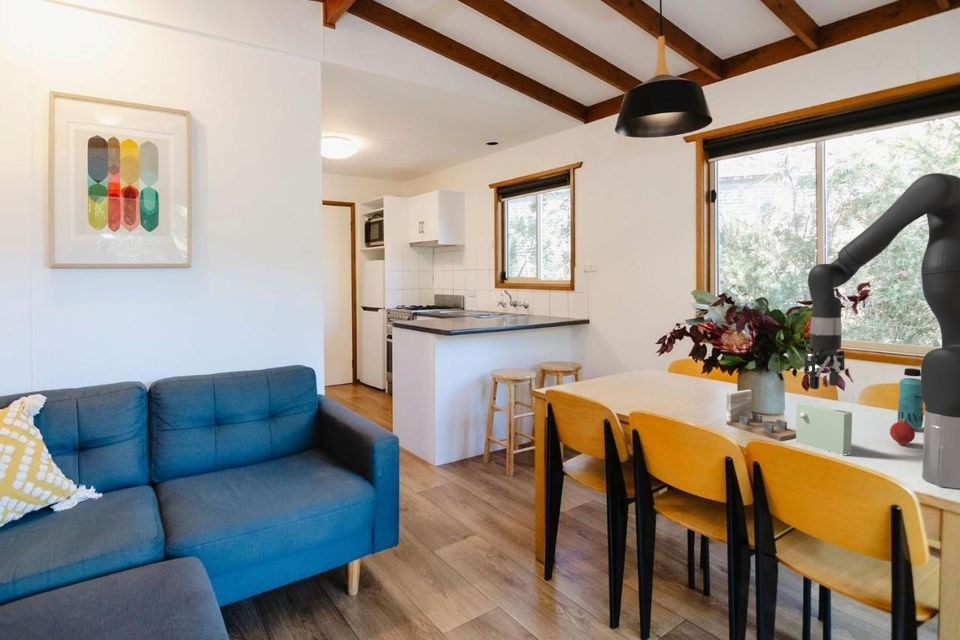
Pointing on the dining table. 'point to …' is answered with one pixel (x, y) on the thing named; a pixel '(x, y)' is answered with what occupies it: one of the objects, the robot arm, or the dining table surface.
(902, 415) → the beverage bottle
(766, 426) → the cabinet frame
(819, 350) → the robot arm
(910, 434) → the onion
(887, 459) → the dining table surface
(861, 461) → the dining table surface
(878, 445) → the dining table surface
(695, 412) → the dining table surface
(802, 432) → the door
